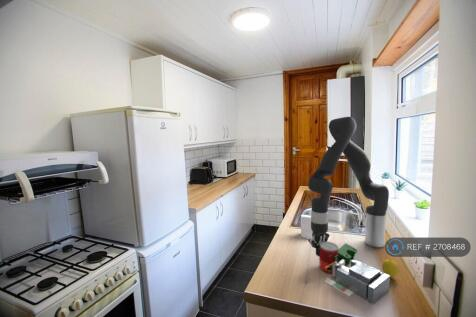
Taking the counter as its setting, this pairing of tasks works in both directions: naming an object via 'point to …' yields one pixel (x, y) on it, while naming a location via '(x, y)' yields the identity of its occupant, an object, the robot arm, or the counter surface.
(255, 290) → the counter surface
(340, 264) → the plunger
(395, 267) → the lemon
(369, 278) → the box
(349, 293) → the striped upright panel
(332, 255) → the canned food
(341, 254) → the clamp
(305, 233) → the white container
